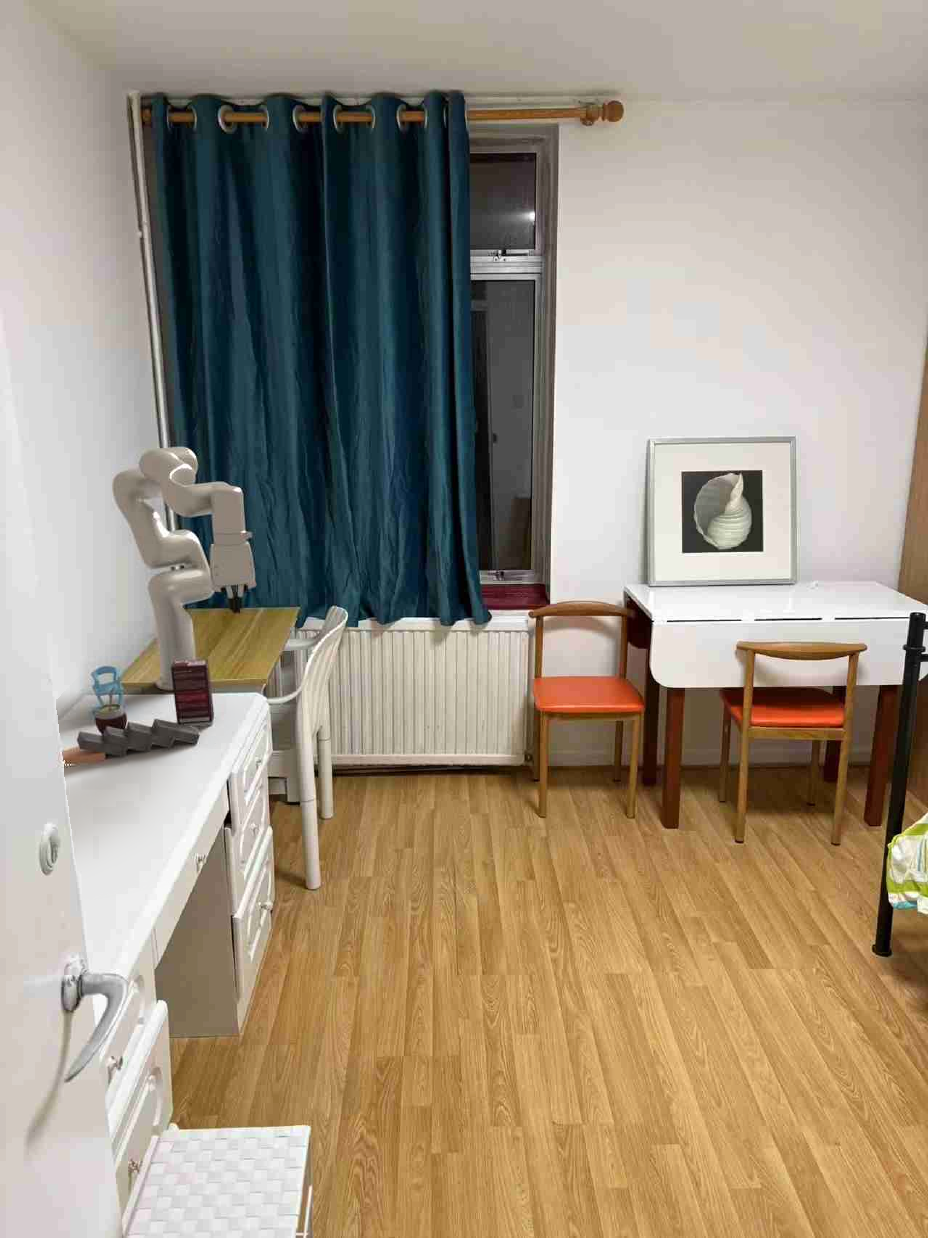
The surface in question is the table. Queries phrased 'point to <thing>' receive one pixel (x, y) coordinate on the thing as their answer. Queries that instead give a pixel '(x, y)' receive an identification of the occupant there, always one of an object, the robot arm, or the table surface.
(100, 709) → the mate gourd
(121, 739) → the domino
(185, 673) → the supplement box
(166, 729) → the domino
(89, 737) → the domino
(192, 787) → the table surface
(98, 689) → the chair
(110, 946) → the table surface
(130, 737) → the domino
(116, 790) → the table surface
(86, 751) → the rust domino
